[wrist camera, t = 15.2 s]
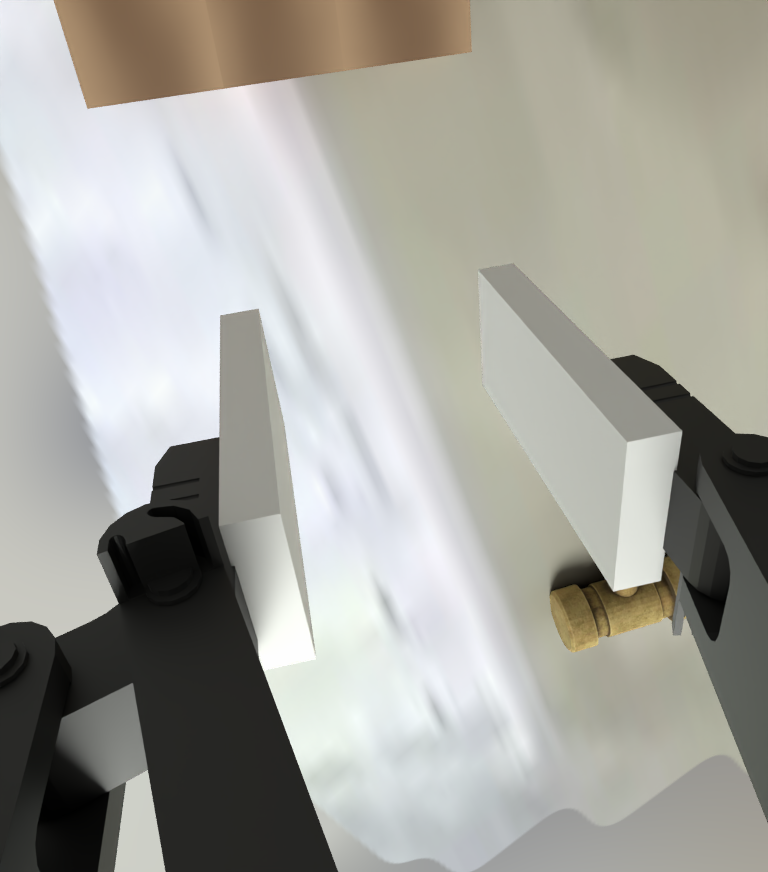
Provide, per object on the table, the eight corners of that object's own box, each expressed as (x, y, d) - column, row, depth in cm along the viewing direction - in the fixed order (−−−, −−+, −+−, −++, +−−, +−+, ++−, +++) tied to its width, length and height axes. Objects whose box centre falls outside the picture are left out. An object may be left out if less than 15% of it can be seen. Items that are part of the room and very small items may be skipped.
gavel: (543, 423, 42) (706, 376, 42) (517, 389, 46) (666, 347, 46) (575, 666, 52) (704, 627, 53) (551, 622, 56) (672, 586, 57)
